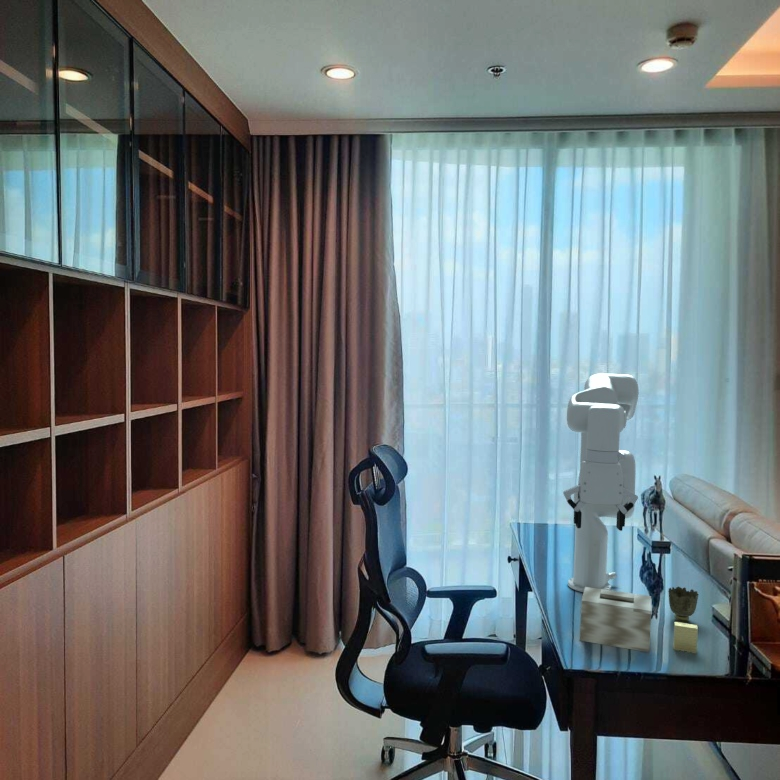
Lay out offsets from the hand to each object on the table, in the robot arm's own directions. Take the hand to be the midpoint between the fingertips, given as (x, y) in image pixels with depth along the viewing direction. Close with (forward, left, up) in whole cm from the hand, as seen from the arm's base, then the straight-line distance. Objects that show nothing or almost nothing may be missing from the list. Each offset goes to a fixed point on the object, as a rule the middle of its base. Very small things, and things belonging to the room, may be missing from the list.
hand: (598, 528), depth 162 cm
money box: (-8, -1, -29) cm, 30 cm away
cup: (-34, -2, -29) cm, 45 cm away
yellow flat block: (-19, +11, -29) cm, 36 cm away
